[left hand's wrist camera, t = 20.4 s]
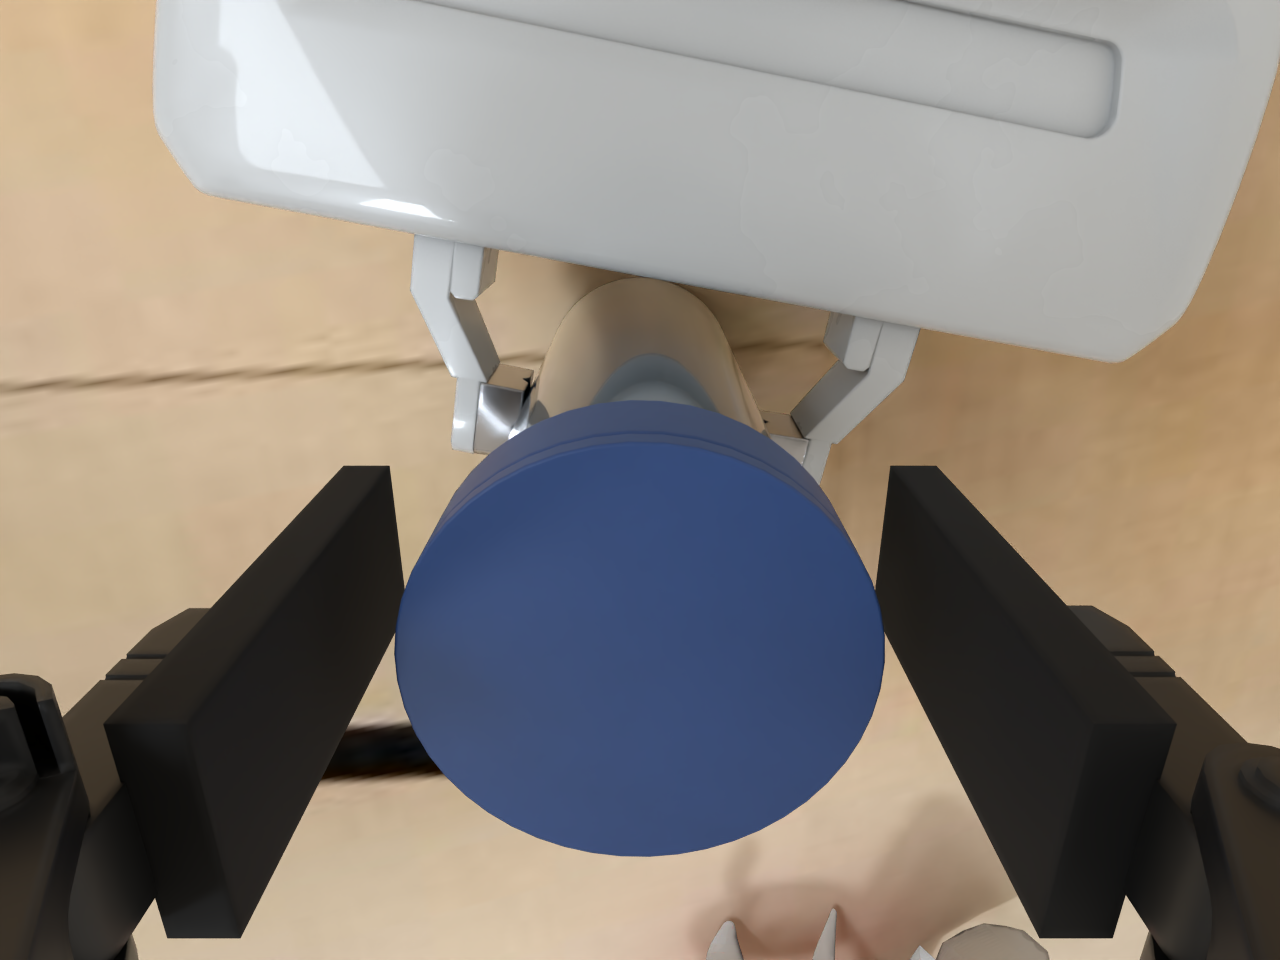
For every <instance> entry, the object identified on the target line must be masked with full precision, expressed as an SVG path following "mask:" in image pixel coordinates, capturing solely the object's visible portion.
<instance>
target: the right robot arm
mask: <svg viewBox="0 0 1280 960" xmlns="http://www.w3.org/2000/svg"><path fill="white" fill-rule="evenodd" d="M1279 61H1280V0H156V13H155V32H154V55H153V113H154V120H155V126H156V129H157V132H158V134H159V136H160V138H161V140H162V141H163V143H164V144H165V146H166V147H167V149H168V150H169V152H170V153H171V155H172V156H173V158H174V159H175V161H176V162H177V164H178V165H179V167H180V168H181V170H182V171H183V172H184V174H185V175H186V177H187V178H188V179H189V181H190V182H191V183H192V185H193V186H194V187H195V188H196V189H197V190H198V191H200V192H202V193H203V194H206V195H209V196H213V197H218V198H223V199H228V200H233V201H239V202H244V203H249V204H255V205H260V206H266V207H271V208H276V209H282V210H287V211H292V212H298V213H303V214H309V215H314V216H319V217H325V218H330V219H336V220H341V221H346V222H352V223H357V224H362V225H368V226H373V227H379V228H384V229H389V230H395V231H400V232H405V233H411V234H415V236H414V249H413V262H412V275H411V288H410V291H411V293H412V295H413V297H414V299H415V301H416V304H417V306H418V308H419V310H420V312H421V314H422V316H423V318H424V320H425V322H426V324H427V327H428V329H429V331H430V333H431V335H432V337H433V339H434V341H435V343H436V345H437V348H438V350H439V352H440V354H441V356H442V358H443V360H444V362H445V364H446V366H447V369H448V371H449V373H450V375H451V377H455V378H457V385H456V396H455V406H454V416H453V426H452V436H451V444H452V449H453V450H457V451H462V452H467V453H472V454H474V453H477V454H484V455H489V454H490V453H491V452H492V451H494V450H495V449H496V448H498V447H499V446H501V445H502V444H503V443H505V442H506V441H507V440H508V437H509V435H510V433H511V431H512V429H513V426H514V424H515V422H516V420H517V418H518V415H519V413H520V411H521V409H522V407H523V404H524V402H525V400H526V398H527V396H528V393H529V391H530V389H531V387H532V381H533V373H534V370H529V369H524V368H519V367H514V366H509V365H504V364H499V363H500V360H499V358H498V355H497V353H496V350H495V348H494V345H493V343H492V340H491V338H490V335H489V333H488V330H487V328H486V325H485V323H484V321H483V318H482V316H481V313H480V311H479V308H478V306H477V303H476V301H475V298H477V297H478V296H479V295H480V294H481V293H482V292H483V291H485V290H486V289H487V288H488V287H489V286H490V285H491V284H493V283H494V282H495V277H496V269H497V261H498V253H499V250H502V251H508V252H513V253H518V254H524V255H529V256H535V257H540V258H545V259H551V260H556V261H562V262H567V263H572V264H578V265H583V266H588V267H594V268H599V269H605V270H610V271H615V272H621V273H626V274H631V275H637V276H642V277H648V278H653V279H658V280H664V281H669V282H675V283H680V284H685V285H691V286H696V287H701V288H707V289H712V290H718V291H723V292H728V293H734V294H739V295H745V296H750V297H755V298H761V299H766V300H771V301H777V302H782V303H788V304H793V305H798V306H804V307H809V308H814V309H820V310H825V311H830V315H829V319H828V323H827V327H826V331H825V335H824V339H823V342H824V344H825V346H826V347H827V348H828V349H829V350H830V351H831V352H832V353H833V354H834V355H835V356H836V357H837V359H838V361H837V362H836V363H835V364H834V365H833V366H832V367H831V368H830V370H829V371H828V372H827V373H826V374H825V375H824V376H823V377H822V378H821V379H820V381H819V382H818V383H817V384H816V385H815V386H814V387H813V388H812V389H811V390H810V391H809V393H808V394H807V395H806V396H805V397H804V398H803V399H802V400H801V401H800V402H799V404H798V405H797V406H796V407H795V408H794V409H793V410H792V411H791V412H790V414H791V415H788V414H781V413H775V412H768V411H762V410H759V412H760V414H761V416H762V418H763V420H764V423H765V425H766V427H767V429H768V431H769V434H770V436H771V438H772V440H773V441H774V442H775V443H777V444H778V445H779V446H780V447H782V448H783V449H784V450H785V451H787V452H788V453H789V454H790V455H792V456H793V457H794V458H795V459H796V460H797V461H798V462H799V463H800V464H801V465H802V466H803V467H804V468H805V469H806V470H807V471H808V473H809V474H810V475H811V476H812V477H813V478H814V479H815V480H816V482H817V483H818V485H819V486H820V482H821V479H822V475H823V472H824V468H825V465H826V461H827V458H828V454H829V451H830V447H831V444H832V443H833V444H838V443H839V442H840V441H841V440H842V439H843V438H844V437H845V436H846V435H847V434H848V433H849V432H850V431H852V430H853V429H854V428H855V427H856V426H857V425H858V424H859V423H860V422H861V421H862V420H863V419H864V418H865V417H866V416H867V415H868V414H869V413H870V412H871V411H873V410H874V409H875V408H876V407H877V406H878V405H879V404H880V403H881V402H882V401H883V400H884V399H885V398H886V397H887V396H888V395H889V394H890V393H891V392H893V391H894V390H895V389H896V388H897V387H898V386H899V385H900V384H901V383H902V382H903V381H904V379H905V376H906V372H907V369H908V366H909V363H910V360H911V357H912V353H913V350H914V347H915V344H916V341H917V338H918V335H919V331H920V328H922V329H927V330H933V331H938V332H944V333H949V334H954V335H960V336H965V337H971V338H976V339H981V340H987V341H992V342H997V343H1003V344H1008V345H1014V346H1019V347H1024V348H1030V349H1035V350H1040V351H1046V352H1051V353H1057V354H1062V355H1067V356H1073V357H1078V358H1084V359H1089V360H1095V361H1100V362H1106V363H1120V362H1123V361H1125V360H1127V359H1129V358H1130V357H1132V356H1133V355H1135V354H1136V353H1138V352H1139V351H1141V350H1142V349H1144V348H1145V347H1146V346H1148V345H1149V344H1150V343H1152V342H1153V341H1155V340H1156V339H1157V338H1159V337H1160V336H1161V335H1162V334H1164V333H1165V332H1166V331H1168V330H1169V329H1170V328H1171V327H1173V326H1174V325H1175V324H1176V323H1177V322H1178V321H1179V320H1180V318H1181V317H1182V316H1183V314H1184V313H1185V311H1186V309H1187V308H1188V306H1189V304H1190V303H1191V301H1192V299H1193V297H1194V295H1195V293H1196V291H1197V288H1198V286H1199V284H1200V282H1201V280H1202V278H1203V276H1204V274H1205V272H1206V269H1207V267H1208V264H1209V262H1210V260H1211V257H1212V255H1213V253H1214V250H1215V248H1216V245H1217V243H1218V241H1219V238H1220V236H1221V233H1222V231H1223V228H1224V226H1225V223H1226V220H1227V218H1228V215H1229V213H1230V210H1231V207H1232V205H1233V202H1234V200H1235V197H1236V195H1237V192H1238V189H1239V186H1240V184H1241V181H1242V178H1243V175H1244V173H1245V170H1246V167H1247V164H1248V161H1249V159H1250V156H1251V153H1252V150H1253V148H1254V145H1255V142H1256V139H1257V135H1258V132H1259V129H1260V126H1261V123H1262V120H1263V117H1264V113H1265V110H1266V107H1267V104H1268V101H1269V98H1270V94H1271V91H1272V87H1273V84H1274V80H1275V77H1276V73H1277V69H1278V65H1279Z"/></svg>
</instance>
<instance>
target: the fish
mask: <svg viewBox="0 0 1280 960" xmlns="http://www.w3.org/2000/svg"><path fill="white" fill-rule="evenodd" d="M836 917H837V912H836V910H835V909H832V910H831V912H830V915H829V918H828V920H827V922H826V925H825V927H824V930H823V932H822V934H821V937H820V939H819V941H818V944H817V947H816V949H815V952H814V955H813V959H812V960H835V934H836ZM706 960H744V959H743V956H742V953H741V950H740V947H739V943H738V939H737V934H736V929H735V924H734V923H733V922H732V921H726V922H724V924H723V925H722V926H721V928H720V929H719V931H718V932H717V934H716V936H715V937H714V939H713V941H712V942H711V944H710V947H709V949H708V952H707V957H706ZM910 960H935V959H934V958H933V957H932V956H931V955H930V954H929V953H928V952H927V951H925V950H924V949H923V948H922V947H921V946H920V945H919V947H918V948H917V950H916V951H915V953H914V954H913V956H912V957H911V959H910ZM936 960H1049V955H1048V952H1047V950H1045V949H1044V948H1043V947H1042V946H1041V945H1040V944H1038V943H1037V942H1036V941H1035V940H1034V939H1033V938H1032V937H1030V936H1029V935H1028V934H1027V933H1026V932H1025V931H1023V930H1019V929H1015V928H1011V927H1007V926H1000V925H992V924H981V925H978V926H975V927H973V928H970V929H967V930H964V931H962V932H960V933H959V934H957V935H955V936H954V937H952V938H950V939H948V940H947V941H945V942H943V943H942V945H941V948H940V950H939V953H938V955H937V958H936Z"/></svg>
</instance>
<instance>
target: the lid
mask: <svg viewBox="0 0 1280 960" xmlns="http://www.w3.org/2000/svg"><path fill="white" fill-rule="evenodd" d="M394 655H395V664H396V673H397V681H398V685H399V689H400V693H401V697H402V700H403V704H404V708H405V710H406V713H407V715H408V717H409V720H410V722H411V724H412V727H413V729H414V731H415V733H416V735H417V737H418V738H419V740H420V741H421V743H422V745H423V746H424V748H425V750H426V751H427V753H428V755H429V756H430V757H431V759H432V760H433V761H434V762H435V764H436V765H437V766H438V767H439V769H440V770H441V771H442V772H443V773H444V775H445V776H446V777H447V778H448V779H449V780H450V781H451V782H452V783H453V784H454V785H455V786H456V787H457V788H458V789H459V790H460V791H461V792H463V793H464V794H465V795H466V796H467V797H468V798H470V799H471V800H472V801H474V802H475V803H476V804H478V805H479V806H480V807H482V808H483V809H484V810H486V811H487V812H488V813H490V814H492V815H493V816H495V817H497V818H498V819H500V820H502V821H504V822H505V823H507V824H509V825H510V826H512V827H514V828H517V829H519V830H521V831H523V832H525V833H528V834H530V835H532V836H534V837H537V838H539V839H542V840H545V841H548V842H551V843H555V844H558V845H561V846H564V847H568V848H572V849H577V850H582V851H586V852H591V853H598V854H606V855H615V856H642V857H651V856H663V855H675V854H682V853H687V852H693V851H698V850H704V849H708V848H711V847H715V846H718V845H722V844H725V843H729V842H732V841H735V840H737V839H740V838H742V837H745V836H747V835H750V834H752V833H754V832H757V831H759V830H761V829H763V828H765V827H767V826H769V825H770V824H772V823H774V822H776V821H778V820H780V819H782V818H783V817H785V816H786V815H788V814H789V813H791V812H792V811H794V810H795V809H796V808H798V807H799V806H801V805H802V804H804V803H805V802H806V801H808V800H809V799H810V798H811V797H812V796H813V795H814V794H816V793H817V792H818V791H819V790H820V789H821V788H822V787H823V786H825V785H826V784H827V783H828V782H829V781H830V779H831V778H832V777H833V776H834V775H835V774H836V773H837V771H838V770H839V769H840V768H841V767H842V766H843V765H844V764H845V762H846V761H847V759H848V758H849V756H850V755H851V753H852V752H853V750H854V749H855V747H856V746H857V744H858V743H859V741H860V740H861V738H862V736H863V734H864V731H865V729H866V727H867V725H868V723H869V721H870V719H871V717H872V714H873V711H874V708H875V705H876V702H877V699H878V696H879V692H880V689H881V682H882V676H883V670H884V663H885V634H884V627H883V621H882V614H881V608H880V605H879V602H878V599H877V595H876V592H875V589H874V586H873V583H872V580H871V578H870V576H869V574H868V572H867V570H866V568H865V566H864V564H863V562H862V560H861V558H860V556H859V554H858V552H857V551H856V549H855V547H854V545H853V543H852V541H851V539H850V538H849V536H848V534H847V532H846V530H845V528H844V526H843V525H842V523H841V521H840V519H839V517H838V515H837V513H836V512H835V510H834V508H833V506H832V504H831V502H830V500H829V499H828V498H827V496H826V495H825V493H824V492H823V490H822V489H821V488H820V486H819V485H818V483H817V482H816V480H815V479H814V478H813V477H812V476H811V475H810V474H809V473H808V471H807V470H806V469H805V468H804V467H803V466H802V465H801V464H800V463H799V462H798V461H797V460H796V459H795V458H794V457H793V456H792V455H790V454H789V453H788V452H787V451H785V450H784V449H783V448H782V447H780V446H779V445H778V444H777V443H775V442H774V441H773V440H771V439H770V438H768V437H766V436H764V435H763V434H761V433H759V432H758V431H756V430H754V429H753V428H751V427H749V426H748V425H745V424H743V423H741V422H738V421H736V420H734V419H731V418H729V417H727V416H724V415H722V414H720V413H716V412H713V411H709V410H705V409H702V408H698V407H695V406H691V405H685V404H678V403H671V402H665V401H644V400H627V401H617V402H608V403H599V404H594V405H590V406H586V407H582V408H577V409H573V410H569V411H566V412H564V413H561V414H558V415H556V416H553V417H550V418H548V419H545V420H543V421H540V422H538V423H536V424H535V425H533V426H531V427H529V428H527V429H525V430H523V431H522V432H520V433H518V434H516V435H514V436H513V437H512V438H510V439H509V440H507V441H506V442H505V443H503V444H502V445H501V446H499V447H498V448H496V449H495V450H494V451H492V452H491V453H490V454H489V455H488V456H487V457H486V458H485V459H484V460H483V461H482V462H481V463H480V464H479V465H478V466H477V467H476V468H474V469H473V470H472V471H471V473H470V474H469V475H468V477H467V478H466V479H465V480H464V482H463V483H462V484H461V486H460V487H459V488H458V489H457V491H456V492H455V493H454V495H453V497H452V499H451V500H450V502H449V504H448V506H447V508H446V509H445V511H444V513H443V515H442V516H441V518H440V520H439V522H438V524H437V526H436V527H435V529H434V531H433V533H432V535H431V537H430V539H429V540H428V542H427V544H426V546H425V548H424V550H423V552H422V553H421V555H420V557H419V559H418V561H417V563H416V565H415V566H414V568H413V570H412V572H411V575H410V577H409V580H408V583H407V585H406V588H405V591H404V593H403V596H402V598H401V603H400V608H399V613H398V617H397V622H396V630H395V651H394Z"/></svg>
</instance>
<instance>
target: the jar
mask: <svg viewBox="0 0 1280 960" xmlns="http://www.w3.org/2000/svg"><path fill="white" fill-rule="evenodd" d="M627 400H644V401H665V402H671V403H678V404H685V405H691V406H695V407H698V408H702V409H705V410H709V411H713V412H716V413H720V414H722V415H724V416H727V417H729V418H731V419H734V420H736V421H738V422H741V423H743V424H745V425H748V426H749V427H751V428H753V429H754V430H756V431H758V432H759V433H761V434H763V435H764V436H766V437H768V438H770V439H771V440H772V438H771V436H770V434H769V431H768V429H767V427H766V425H765V423H764V420H763V418H762V416H761V414H760V412H759V409H758V407H757V405H756V403H755V401H754V398H753V396H752V394H751V392H750V390H749V387H748V385H747V383H746V381H745V379H744V376H743V374H742V372H741V370H740V368H739V365H738V363H737V361H736V359H735V357H734V354H733V352H732V350H731V348H730V346H729V343H728V341H727V339H726V337H725V335H724V332H723V330H722V328H721V326H720V324H719V322H718V321H717V319H716V318H715V316H714V315H713V313H712V312H711V311H710V310H709V309H708V307H707V306H706V305H705V304H704V303H703V302H702V301H701V300H699V299H698V298H697V297H696V296H695V295H693V294H692V293H690V292H689V291H687V290H686V289H684V288H682V287H679V286H677V285H675V284H673V283H670V282H667V281H664V280H658V279H653V278H642V277H636V278H625V279H621V280H616V281H613V282H610V283H607V284H605V285H602V286H600V287H598V288H596V289H594V290H593V291H591V292H589V293H588V294H587V295H585V296H584V297H582V298H581V299H580V300H579V301H578V302H577V303H576V304H575V305H574V306H573V307H572V308H571V309H570V311H569V312H568V313H567V314H566V316H565V317H564V319H563V320H562V322H561V324H560V325H559V327H558V330H557V332H556V334H555V336H554V338H553V341H552V343H551V345H550V347H549V349H548V352H547V354H546V356H545V358H544V360H543V363H542V365H541V367H540V369H539V371H538V374H537V376H536V378H535V380H534V382H533V385H532V387H531V389H530V391H529V393H528V396H527V398H526V400H525V402H524V404H523V407H522V409H521V411H520V413H519V415H518V418H517V420H516V422H515V424H514V426H513V429H512V431H511V433H510V435H509V437H508V440H509V439H510V438H512V437H513V436H514V435H516V434H518V433H520V432H522V431H523V430H525V429H527V428H529V427H531V426H533V425H535V424H536V423H538V422H540V421H543V420H545V419H548V418H550V417H553V416H556V415H558V414H561V413H564V412H566V411H569V410H573V409H577V408H582V407H586V406H590V405H594V404H599V403H608V402H617V401H627Z"/></svg>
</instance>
